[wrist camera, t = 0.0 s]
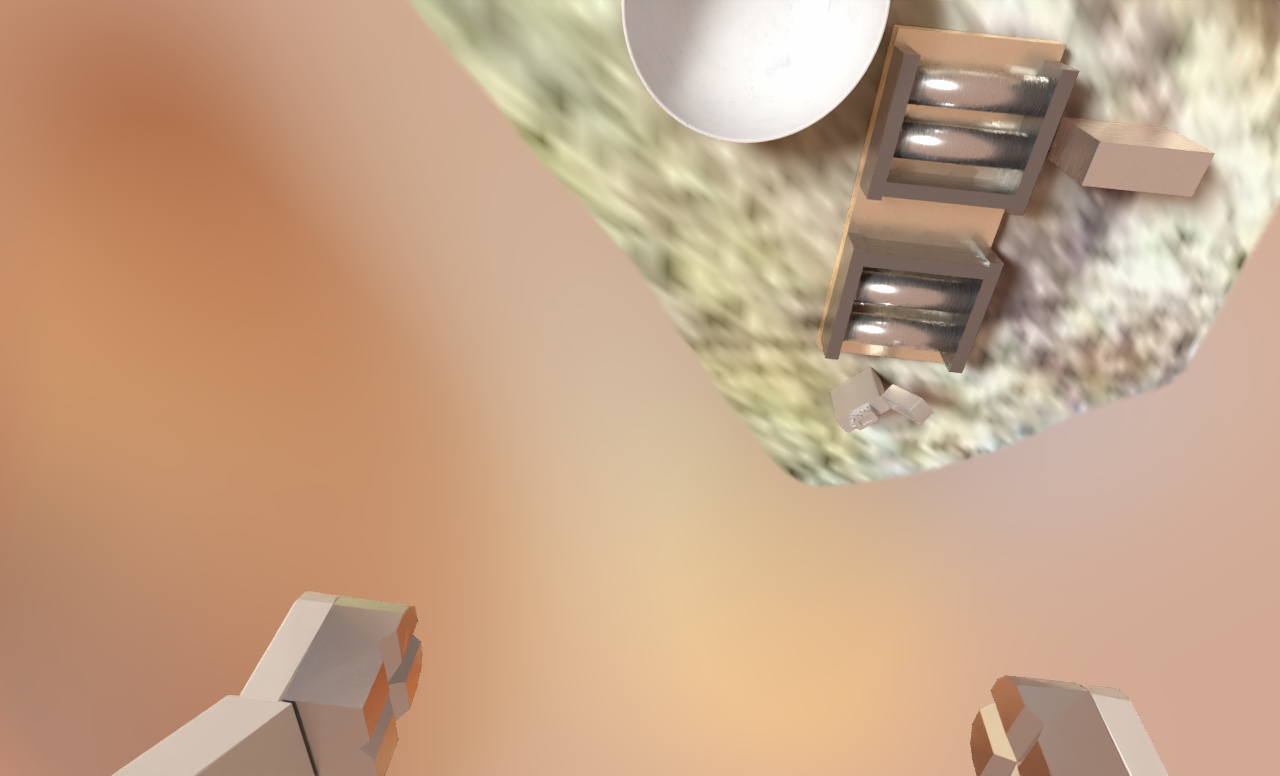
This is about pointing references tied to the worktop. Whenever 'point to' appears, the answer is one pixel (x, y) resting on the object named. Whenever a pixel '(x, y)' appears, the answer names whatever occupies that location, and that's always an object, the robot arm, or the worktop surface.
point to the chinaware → (752, 60)
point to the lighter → (873, 401)
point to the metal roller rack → (940, 190)
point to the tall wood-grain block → (1129, 157)
